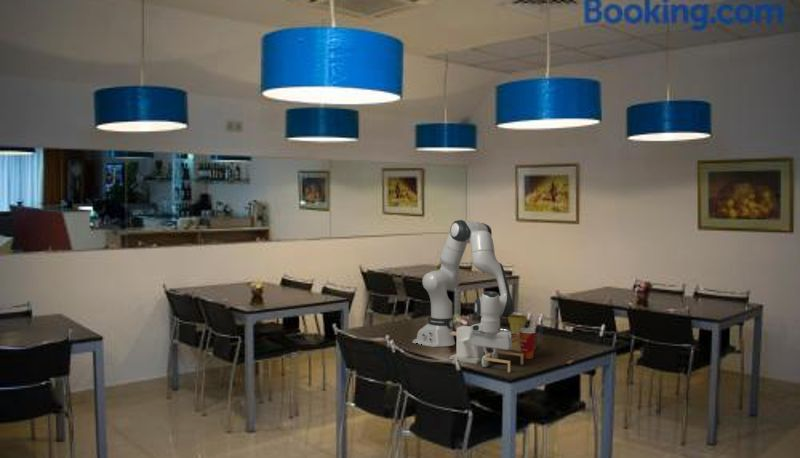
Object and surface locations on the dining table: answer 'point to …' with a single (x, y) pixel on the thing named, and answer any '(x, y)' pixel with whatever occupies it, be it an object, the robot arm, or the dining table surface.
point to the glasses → (488, 358)
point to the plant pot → (516, 322)
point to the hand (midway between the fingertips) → (490, 356)
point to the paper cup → (527, 342)
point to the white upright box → (466, 347)
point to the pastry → (517, 342)
